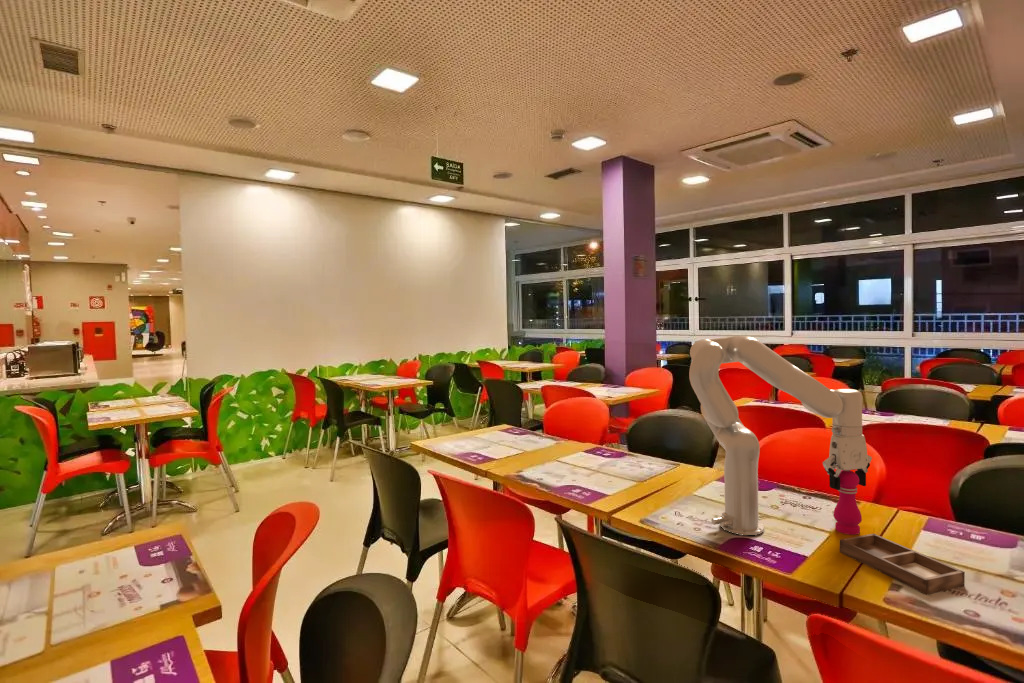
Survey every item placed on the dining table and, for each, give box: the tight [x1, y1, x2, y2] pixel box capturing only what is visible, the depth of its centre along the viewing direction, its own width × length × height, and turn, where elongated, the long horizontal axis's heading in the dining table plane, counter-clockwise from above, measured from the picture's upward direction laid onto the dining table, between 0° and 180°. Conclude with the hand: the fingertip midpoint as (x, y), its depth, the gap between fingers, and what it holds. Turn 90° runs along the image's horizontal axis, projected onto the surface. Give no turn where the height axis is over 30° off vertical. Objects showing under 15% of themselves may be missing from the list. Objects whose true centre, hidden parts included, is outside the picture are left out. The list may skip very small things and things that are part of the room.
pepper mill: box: [833, 470, 863, 536], centre depth 158 cm, size 7×7×20 cm
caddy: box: [839, 533, 966, 596], centre depth 135 cm, size 12×23×4 cm, turn 15°
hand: (847, 486), depth 158 cm, fingers open, 9 cm apart
